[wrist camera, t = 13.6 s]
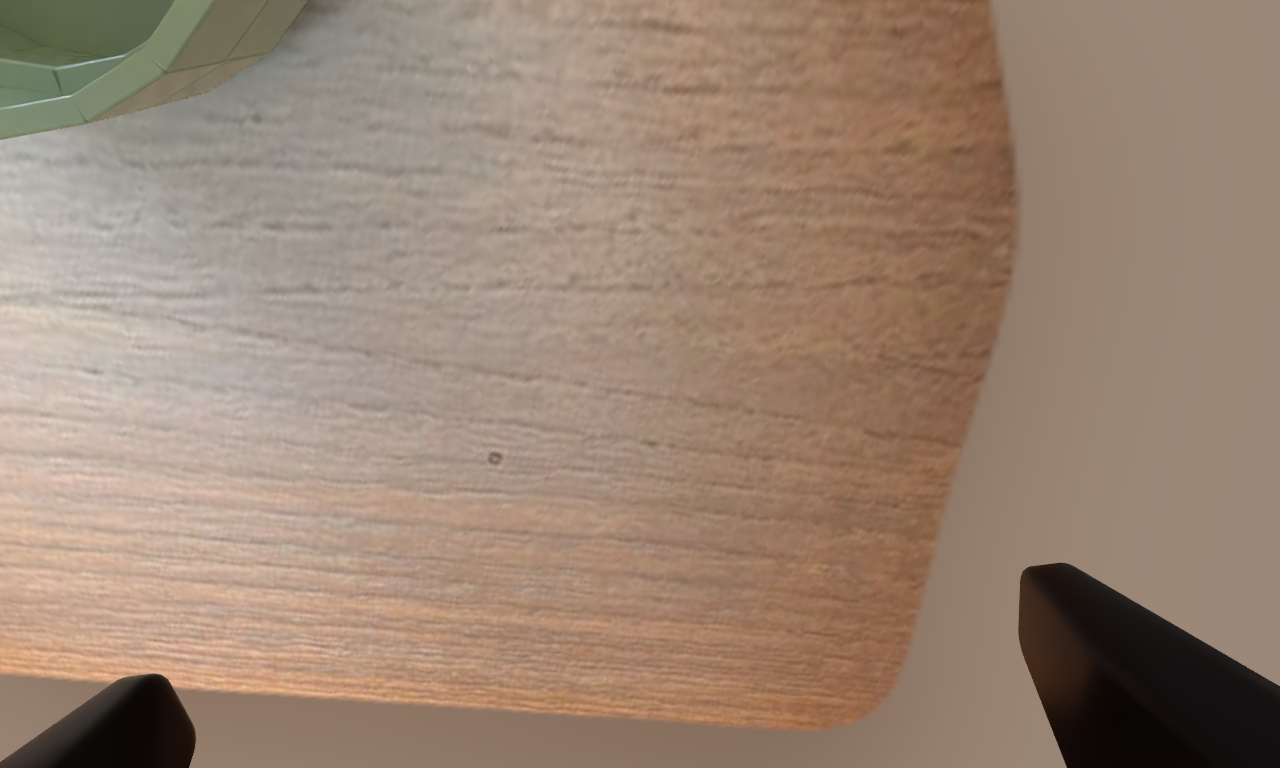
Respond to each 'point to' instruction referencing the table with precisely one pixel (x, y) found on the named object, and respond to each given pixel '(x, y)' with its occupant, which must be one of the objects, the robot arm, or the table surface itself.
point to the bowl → (123, 55)
